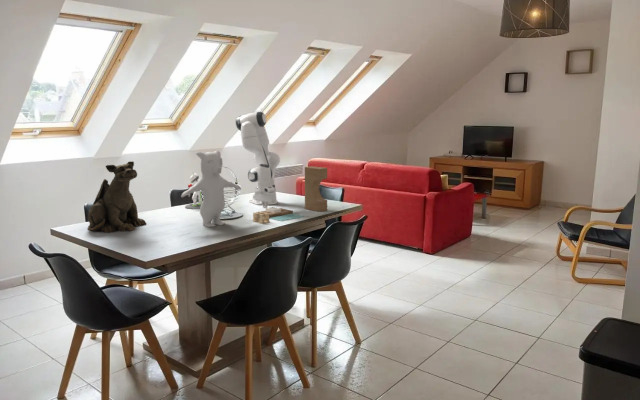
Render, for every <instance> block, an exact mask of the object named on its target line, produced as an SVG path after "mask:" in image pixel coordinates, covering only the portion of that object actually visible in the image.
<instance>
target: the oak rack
mask: <svg viewBox="0 0 640 400" xmlns="http://www.w3.org/2000/svg"><path fill="white" fill-rule="evenodd" d="M257 212H258V213H255V212H252V218H253V219H252V222H253V223H258V224H260V225H262V224H263V225H264V224H268V223H271V221H270V219H269V214H267V213H263V212H261V211H257Z"/></svg>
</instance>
